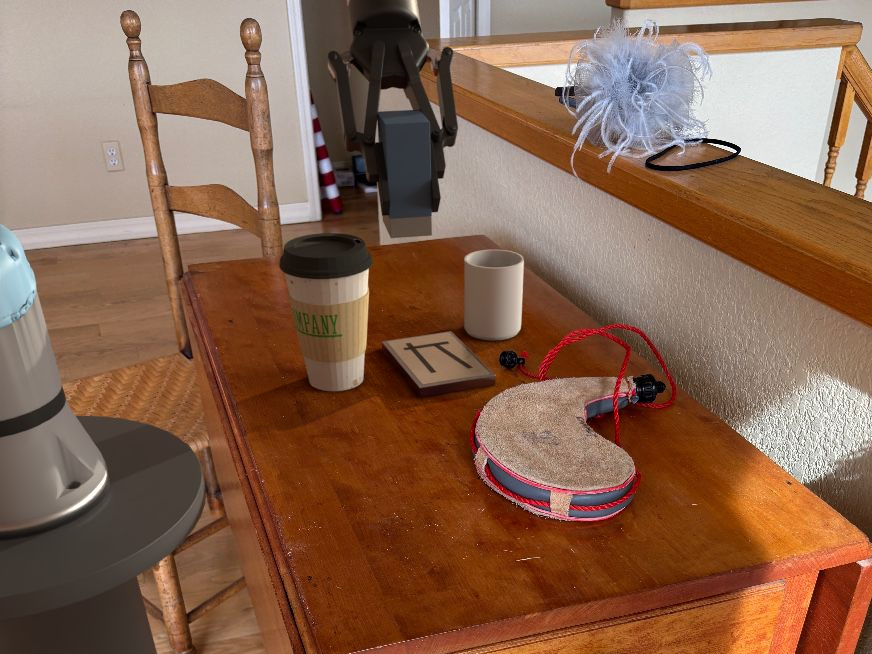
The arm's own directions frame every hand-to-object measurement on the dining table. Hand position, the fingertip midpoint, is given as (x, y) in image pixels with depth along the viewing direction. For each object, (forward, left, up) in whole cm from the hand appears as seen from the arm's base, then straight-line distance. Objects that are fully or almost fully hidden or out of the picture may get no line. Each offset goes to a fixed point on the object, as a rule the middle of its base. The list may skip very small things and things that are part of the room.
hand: (411, 206), depth 96 cm
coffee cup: (-9, +1, -18) cm, 21 cm away
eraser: (+1, +4, -3) cm, 5 cm away
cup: (+13, +10, -18) cm, 25 cm away
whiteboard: (+3, 0, -18) cm, 18 cm away
